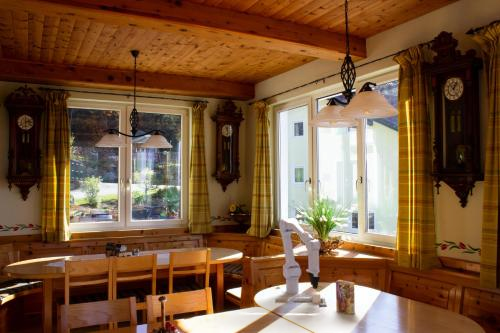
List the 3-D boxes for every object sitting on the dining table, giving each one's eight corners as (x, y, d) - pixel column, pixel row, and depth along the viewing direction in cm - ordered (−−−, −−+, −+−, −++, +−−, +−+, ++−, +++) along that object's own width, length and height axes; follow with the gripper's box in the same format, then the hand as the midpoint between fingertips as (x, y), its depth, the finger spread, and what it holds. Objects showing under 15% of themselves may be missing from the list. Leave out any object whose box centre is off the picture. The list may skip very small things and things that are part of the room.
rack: (292, 299, 240) (292, 294, 240) (324, 299, 238) (324, 294, 238) (292, 306, 228) (292, 300, 228) (326, 306, 226) (326, 301, 226)
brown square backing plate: (275, 300, 239) (275, 298, 239) (288, 300, 238) (287, 298, 238) (274, 304, 231) (274, 302, 231) (287, 304, 230) (287, 303, 230)
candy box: (355, 312, 215) (354, 282, 216) (350, 314, 213) (349, 283, 213) (341, 308, 222) (340, 279, 223) (336, 310, 219) (335, 280, 220)
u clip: (311, 300, 235) (311, 292, 236) (318, 300, 235) (318, 291, 236) (313, 303, 230) (312, 294, 230) (320, 302, 230) (320, 294, 230)
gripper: (304, 259, 242) (305, 283, 242) (308, 264, 227) (308, 290, 227) (317, 259, 242) (317, 283, 242) (321, 264, 227) (321, 290, 227)
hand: (314, 286), depth 234 cm, fingers open, 7 cm apart
